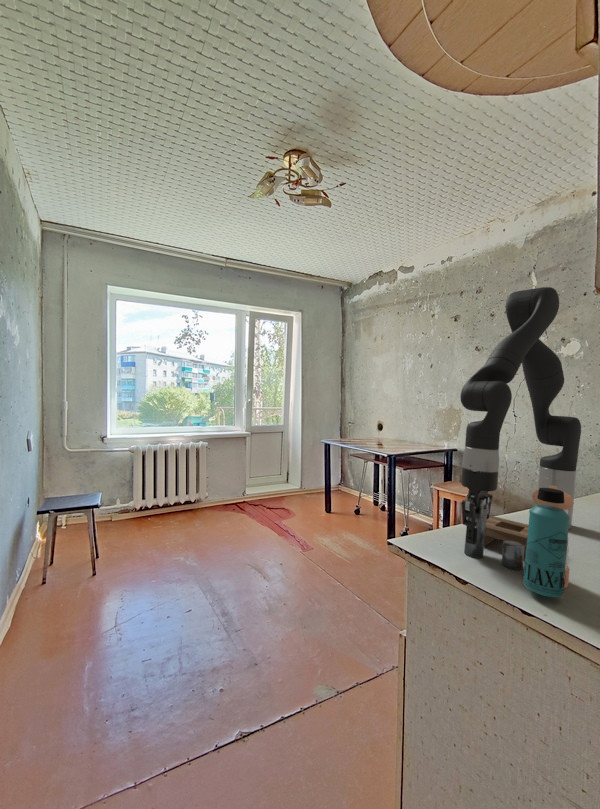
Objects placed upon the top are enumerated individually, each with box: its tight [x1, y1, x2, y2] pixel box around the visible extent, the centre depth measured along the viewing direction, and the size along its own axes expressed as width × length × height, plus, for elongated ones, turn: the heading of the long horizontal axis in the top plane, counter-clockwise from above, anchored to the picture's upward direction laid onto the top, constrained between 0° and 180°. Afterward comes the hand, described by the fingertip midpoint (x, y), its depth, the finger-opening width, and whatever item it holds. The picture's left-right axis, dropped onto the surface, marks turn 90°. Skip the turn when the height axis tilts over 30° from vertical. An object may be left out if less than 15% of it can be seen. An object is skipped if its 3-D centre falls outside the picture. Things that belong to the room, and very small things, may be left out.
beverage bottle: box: [522, 488, 570, 598], centre depth 69 cm, size 6×7×20 cm
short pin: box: [501, 540, 525, 572], centre depth 81 cm, size 4×4×5 cm
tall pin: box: [463, 508, 488, 559], centre depth 87 cm, size 4×4×11 cm
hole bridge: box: [484, 515, 529, 560], centre depth 94 cm, size 12×12×5 cm
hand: (474, 540), depth 87 cm, fingers open, 4 cm apart
